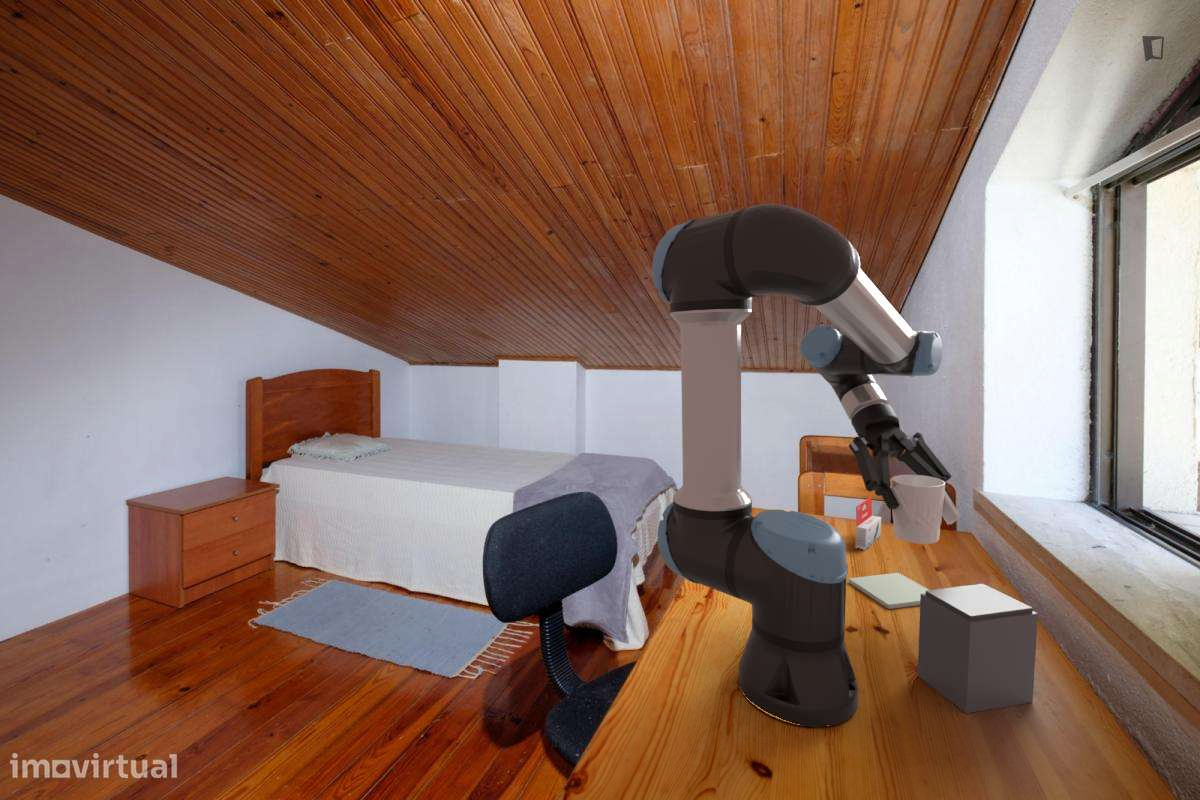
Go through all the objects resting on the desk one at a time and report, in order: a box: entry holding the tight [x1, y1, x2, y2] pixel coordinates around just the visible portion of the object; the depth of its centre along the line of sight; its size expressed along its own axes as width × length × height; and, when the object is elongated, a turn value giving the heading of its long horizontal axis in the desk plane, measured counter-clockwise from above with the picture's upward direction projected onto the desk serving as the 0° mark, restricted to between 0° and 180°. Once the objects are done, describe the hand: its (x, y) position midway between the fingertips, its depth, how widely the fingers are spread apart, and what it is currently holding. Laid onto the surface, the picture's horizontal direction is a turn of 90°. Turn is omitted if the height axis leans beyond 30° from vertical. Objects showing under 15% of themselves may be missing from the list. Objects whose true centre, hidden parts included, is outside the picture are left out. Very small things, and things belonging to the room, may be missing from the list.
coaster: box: [848, 572, 929, 610], centre depth 101 cm, size 11×11×1 cm
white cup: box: [890, 474, 946, 545], centre depth 92 cm, size 8×8×10 cm
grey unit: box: [917, 583, 1039, 714], centre depth 72 cm, size 11×8×13 cm
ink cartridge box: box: [854, 496, 882, 551], centre depth 125 cm, size 2×11×10 cm, turn 137°
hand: (931, 523), depth 89 cm, fingers closed on white cup, 8 cm apart
